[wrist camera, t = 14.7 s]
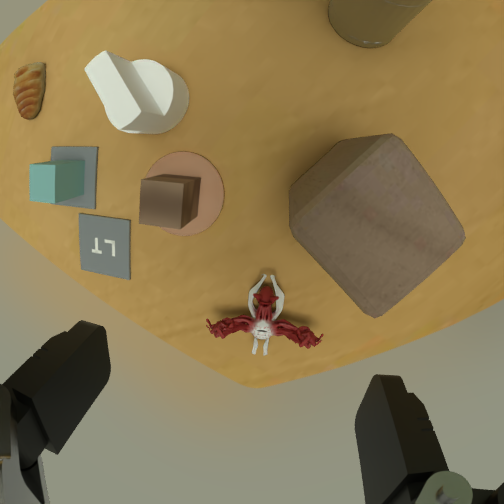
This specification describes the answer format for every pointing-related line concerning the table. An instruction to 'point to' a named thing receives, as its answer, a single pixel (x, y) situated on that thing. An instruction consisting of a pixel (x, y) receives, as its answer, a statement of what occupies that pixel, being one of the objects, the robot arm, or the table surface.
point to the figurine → (265, 320)
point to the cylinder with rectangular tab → (138, 93)
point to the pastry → (29, 89)
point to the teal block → (56, 180)
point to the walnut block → (169, 200)
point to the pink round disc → (209, 187)
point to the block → (373, 220)
